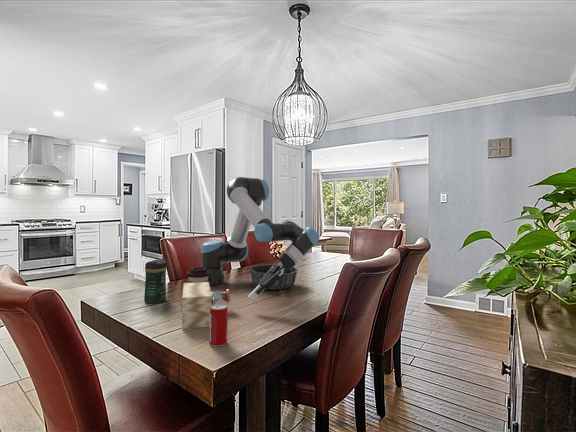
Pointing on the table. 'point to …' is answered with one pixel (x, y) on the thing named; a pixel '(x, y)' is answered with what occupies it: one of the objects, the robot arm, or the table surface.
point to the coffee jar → (155, 281)
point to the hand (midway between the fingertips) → (250, 298)
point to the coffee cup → (198, 275)
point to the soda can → (218, 325)
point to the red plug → (222, 296)
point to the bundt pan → (282, 283)
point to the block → (196, 305)
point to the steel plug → (212, 303)
